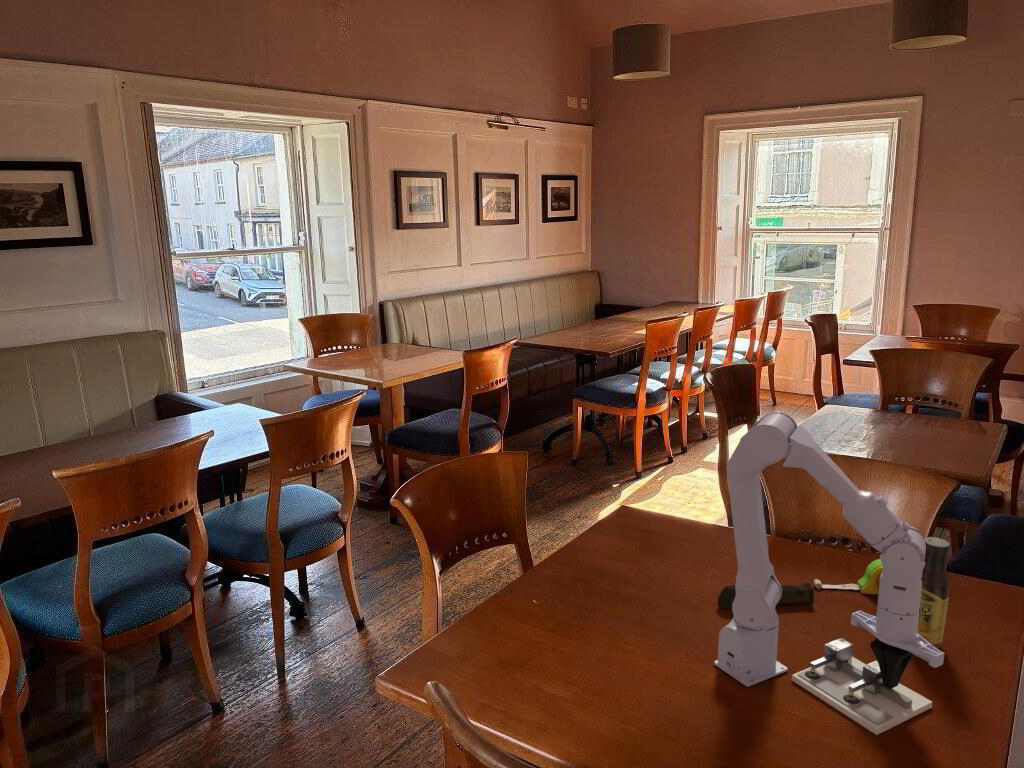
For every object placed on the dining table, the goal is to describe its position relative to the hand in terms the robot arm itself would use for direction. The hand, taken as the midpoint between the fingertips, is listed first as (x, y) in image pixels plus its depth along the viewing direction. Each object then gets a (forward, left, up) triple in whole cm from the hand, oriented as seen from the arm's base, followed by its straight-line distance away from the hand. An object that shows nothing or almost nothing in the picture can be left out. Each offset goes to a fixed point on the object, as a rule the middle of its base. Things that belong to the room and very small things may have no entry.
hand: (890, 685), depth 122 cm
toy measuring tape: (+29, +27, -3) cm, 39 cm away
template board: (-2, +4, -3) cm, 5 cm away
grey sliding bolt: (-2, +2, -2) cm, 4 cm away
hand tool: (+7, +32, -3) cm, 33 cm away
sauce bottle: (+20, +8, -3) cm, 22 cm away
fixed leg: (-2, +10, -2) cm, 10 cm away
